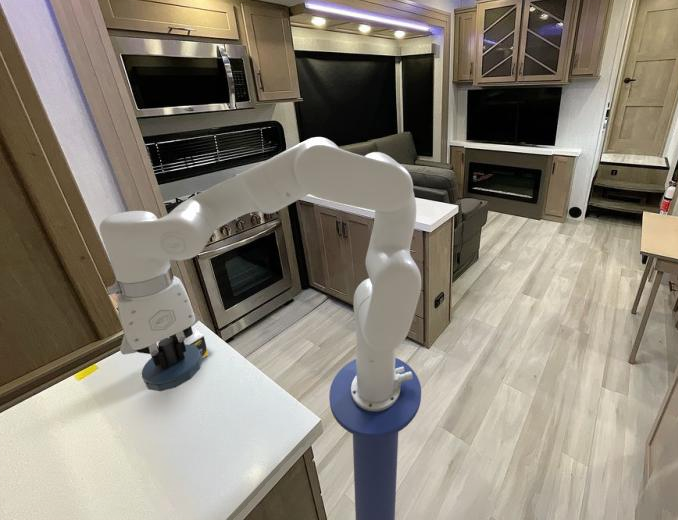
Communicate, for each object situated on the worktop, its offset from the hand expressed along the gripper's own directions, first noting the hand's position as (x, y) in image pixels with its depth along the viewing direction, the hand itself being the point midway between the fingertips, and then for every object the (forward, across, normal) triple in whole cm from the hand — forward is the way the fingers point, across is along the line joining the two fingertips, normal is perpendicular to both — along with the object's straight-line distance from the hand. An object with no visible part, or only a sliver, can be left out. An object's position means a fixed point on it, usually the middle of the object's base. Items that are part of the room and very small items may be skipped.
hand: (171, 360), depth 62 cm
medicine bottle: (+21, +8, +24) cm, 33 cm away
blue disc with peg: (+3, 0, 0) cm, 3 cm away
